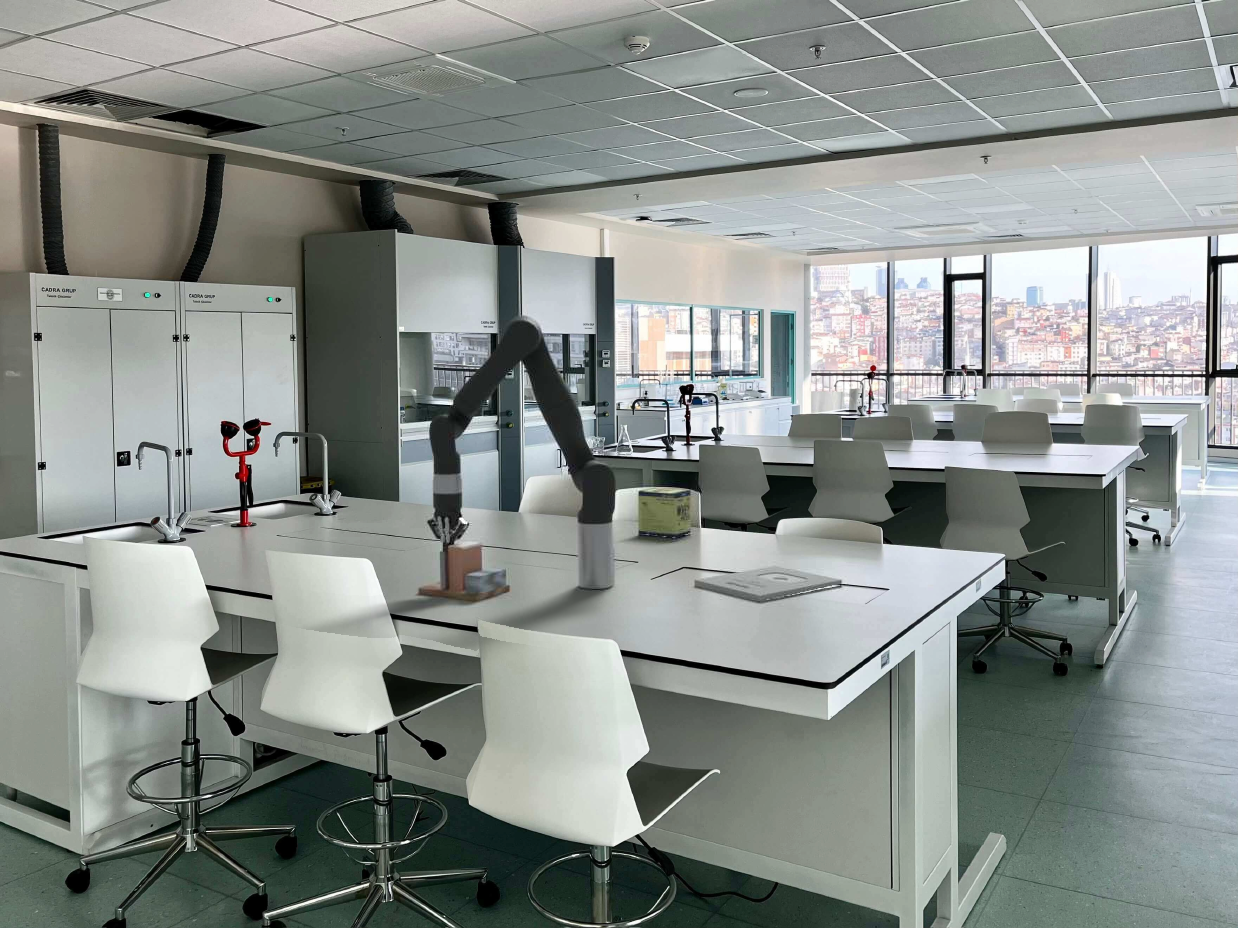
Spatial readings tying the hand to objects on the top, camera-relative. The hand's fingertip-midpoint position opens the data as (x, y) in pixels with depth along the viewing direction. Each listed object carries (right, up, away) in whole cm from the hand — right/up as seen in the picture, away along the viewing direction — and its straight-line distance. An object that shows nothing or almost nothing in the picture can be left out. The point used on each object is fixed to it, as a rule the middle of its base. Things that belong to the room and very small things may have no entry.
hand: (448, 555), depth 273 cm
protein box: (+61, -1, +87) cm, 106 cm away
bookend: (+2, -7, -1) cm, 8 cm away
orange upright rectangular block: (+5, -8, -3) cm, 10 cm away
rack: (+5, -9, -2) cm, 10 cm away
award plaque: (+84, -9, +2) cm, 85 cm away
